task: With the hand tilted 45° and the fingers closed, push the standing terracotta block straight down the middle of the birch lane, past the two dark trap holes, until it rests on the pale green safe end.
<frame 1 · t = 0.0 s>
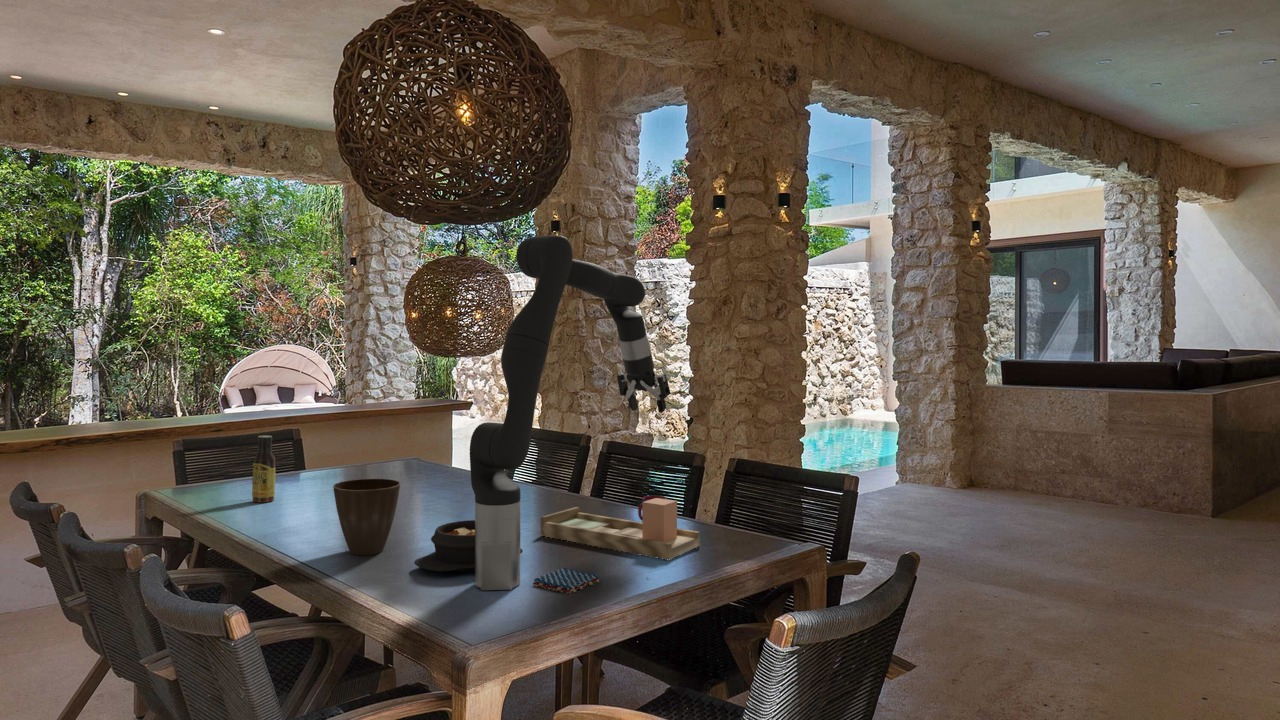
hand: (648, 410, 216), 31 cm above the table, tool tilted 20°, fingers open, 8 cm apart
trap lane: (620, 541, 204), on the table
casserole: (470, 565, 184), on the table
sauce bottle: (264, 502, 248), on the table
plant pot: (367, 552, 194), on the table
terracotta block: (659, 538, 197), point 2 cm above the table, touching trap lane
mug: (650, 524, 223), on the table
woven mat: (565, 587, 170), on the table
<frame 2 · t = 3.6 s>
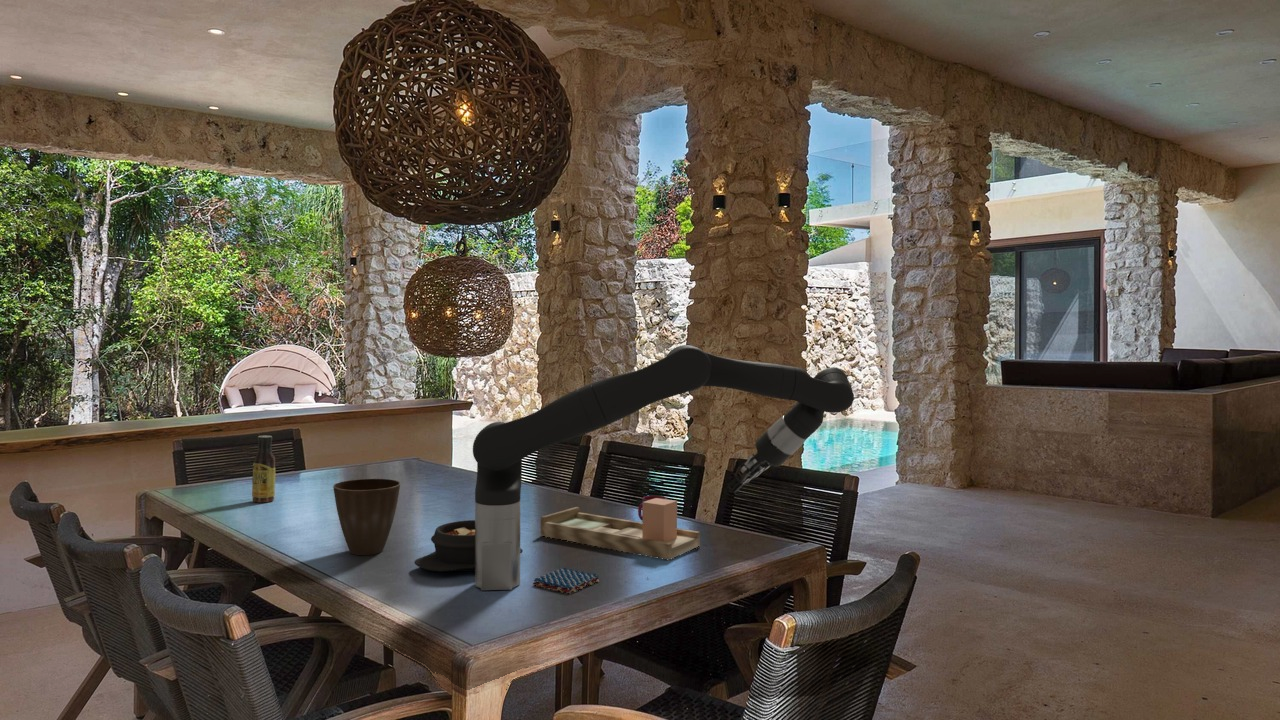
hand: (730, 489, 186), 16 cm above the table, tool tilted 45°, fingers closed
nothing on the table moved.
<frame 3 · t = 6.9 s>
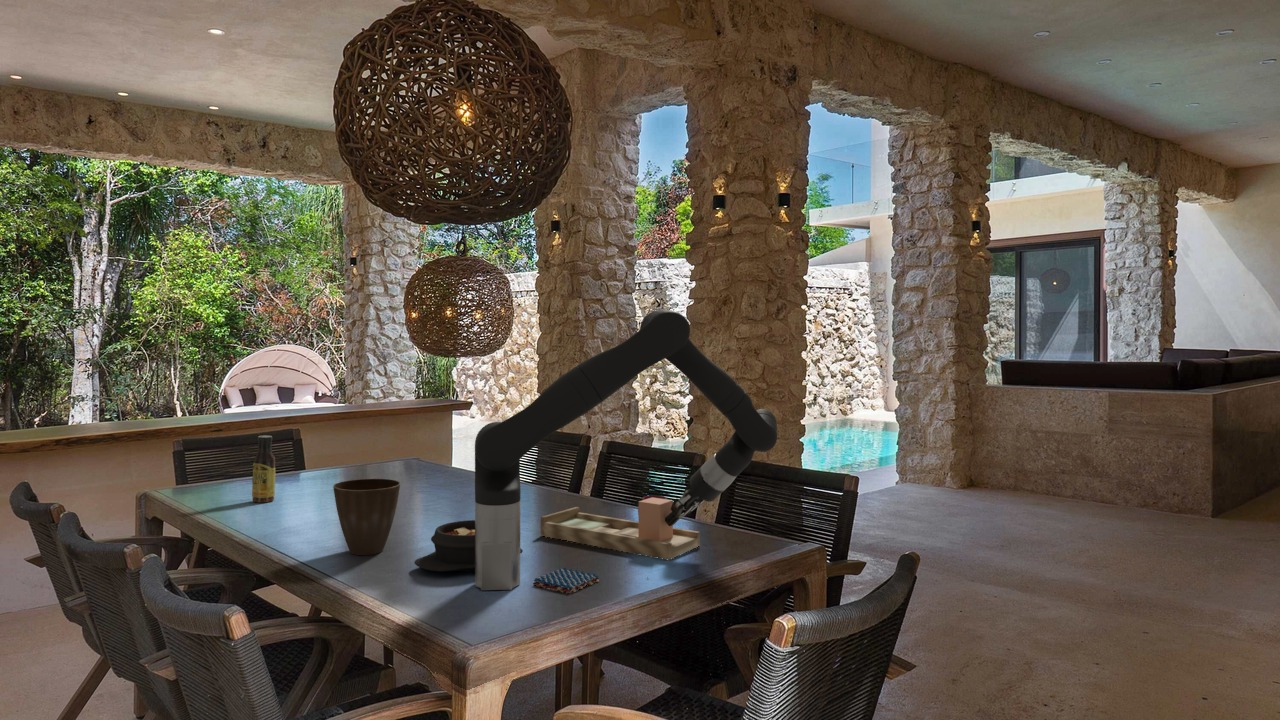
hand: (668, 522, 196), 7 cm above the table, tool tilted 45°, fingers closed
terracotta block: (655, 537, 198), point 3 cm above the table, touching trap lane
everything else where it was.
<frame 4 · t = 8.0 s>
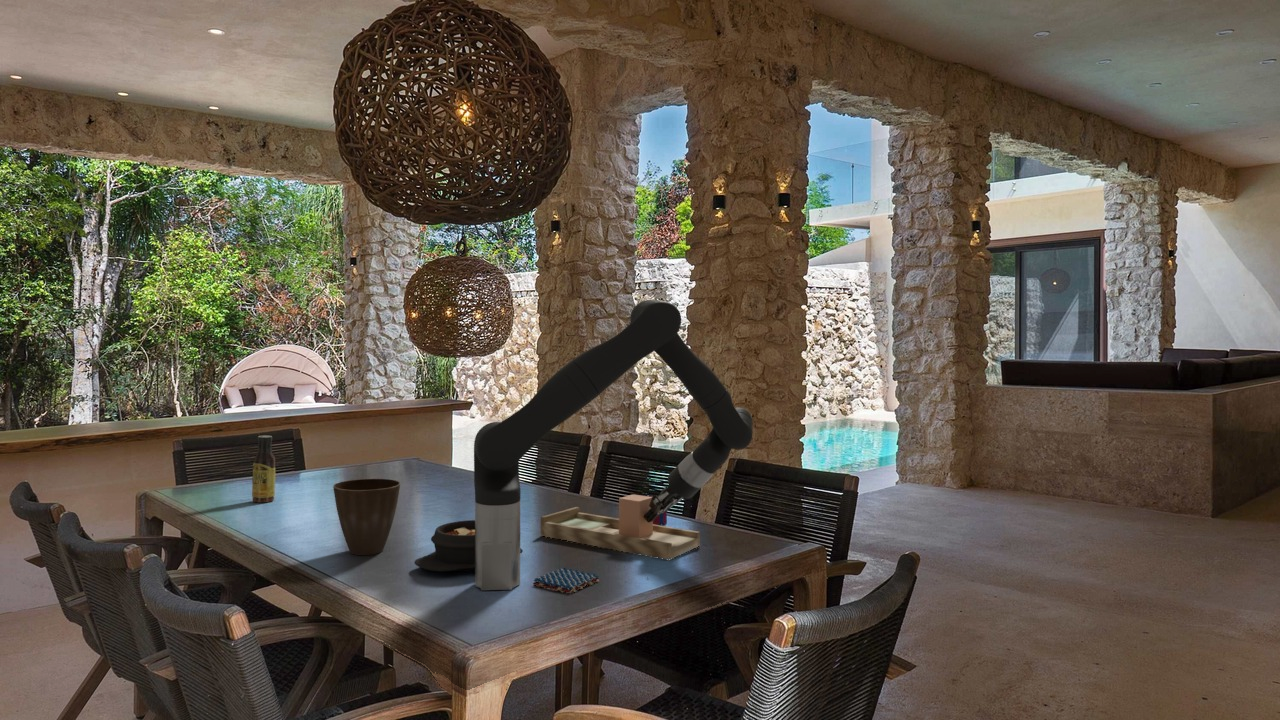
hand: (647, 519, 199), 7 cm above the table, tool tilted 45°, fingers closed
terracotta block: (635, 534, 201), point 3 cm above the table, touching gripper
everything else where it was.
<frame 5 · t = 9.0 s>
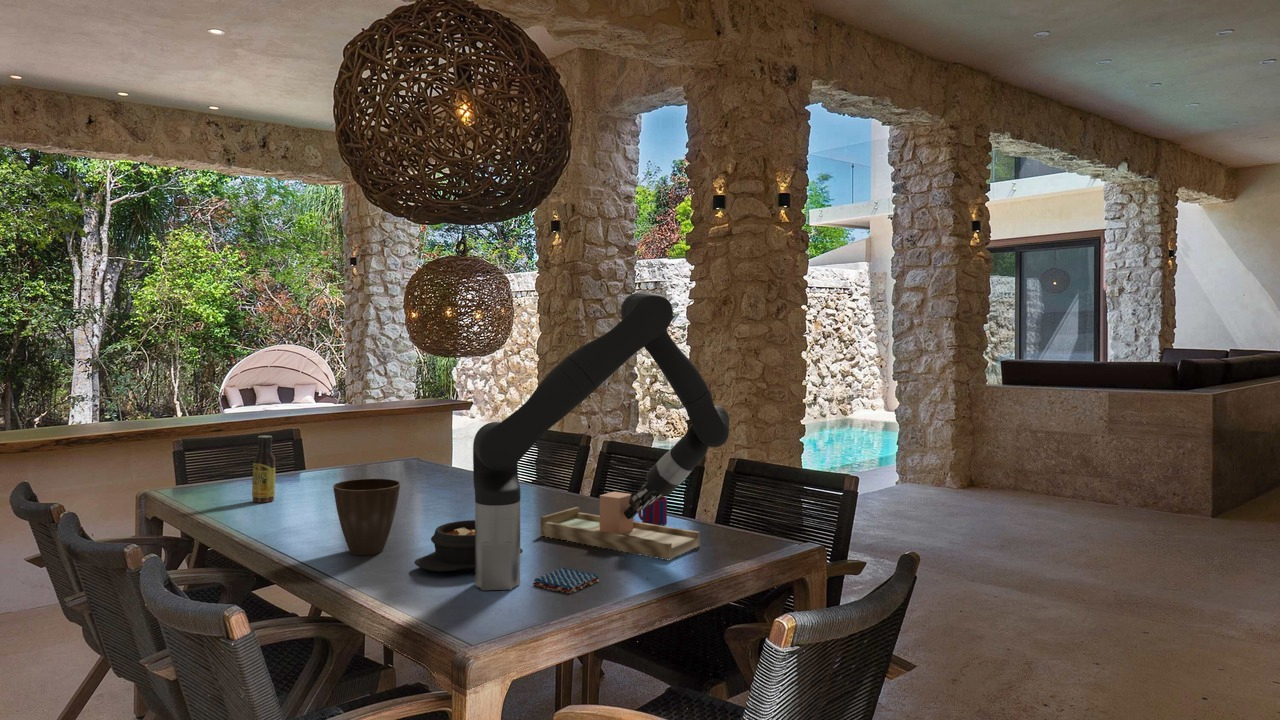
hand: (627, 515, 202), 7 cm above the table, tool tilted 45°, fingers closed
terracotta block: (616, 530, 205), point 3 cm above the table, touching gripper
everything else where it was.
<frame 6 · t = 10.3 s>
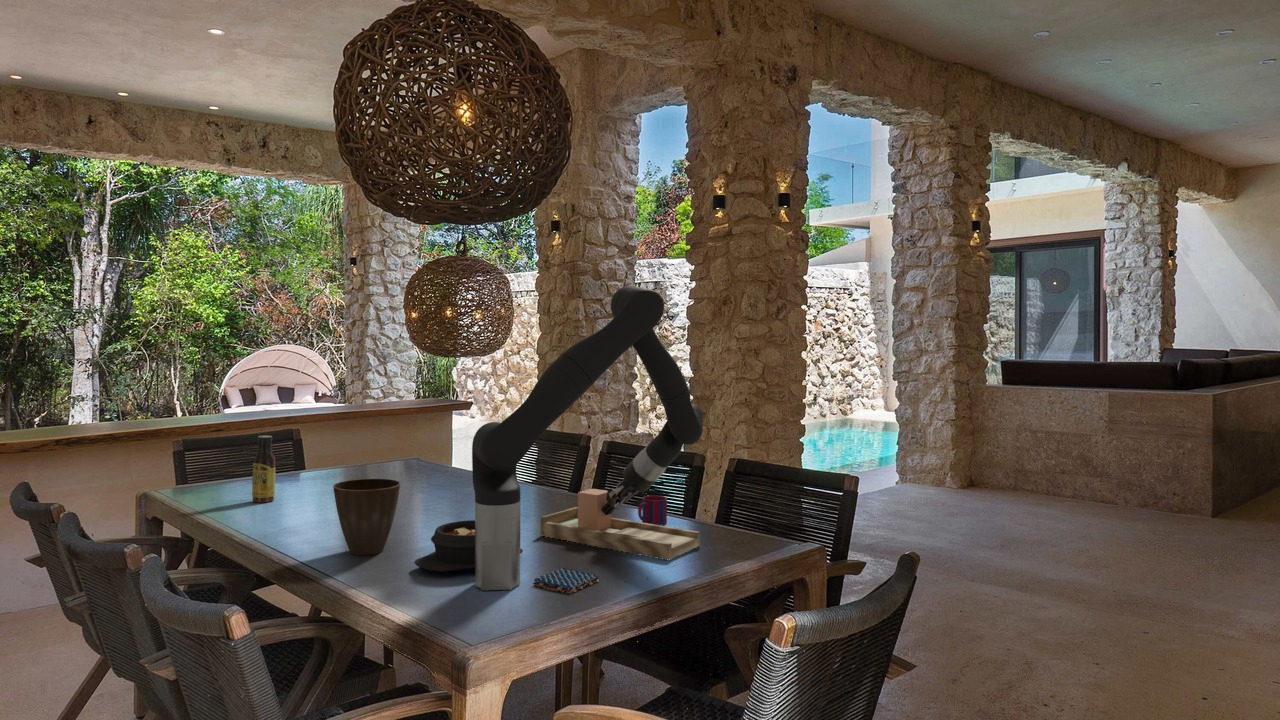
hand: (605, 512, 206), 7 cm above the table, tool tilted 45°, fingers closed
terracotta block: (594, 526, 209), point 2 cm above the table, touching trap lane
everything else where it was.
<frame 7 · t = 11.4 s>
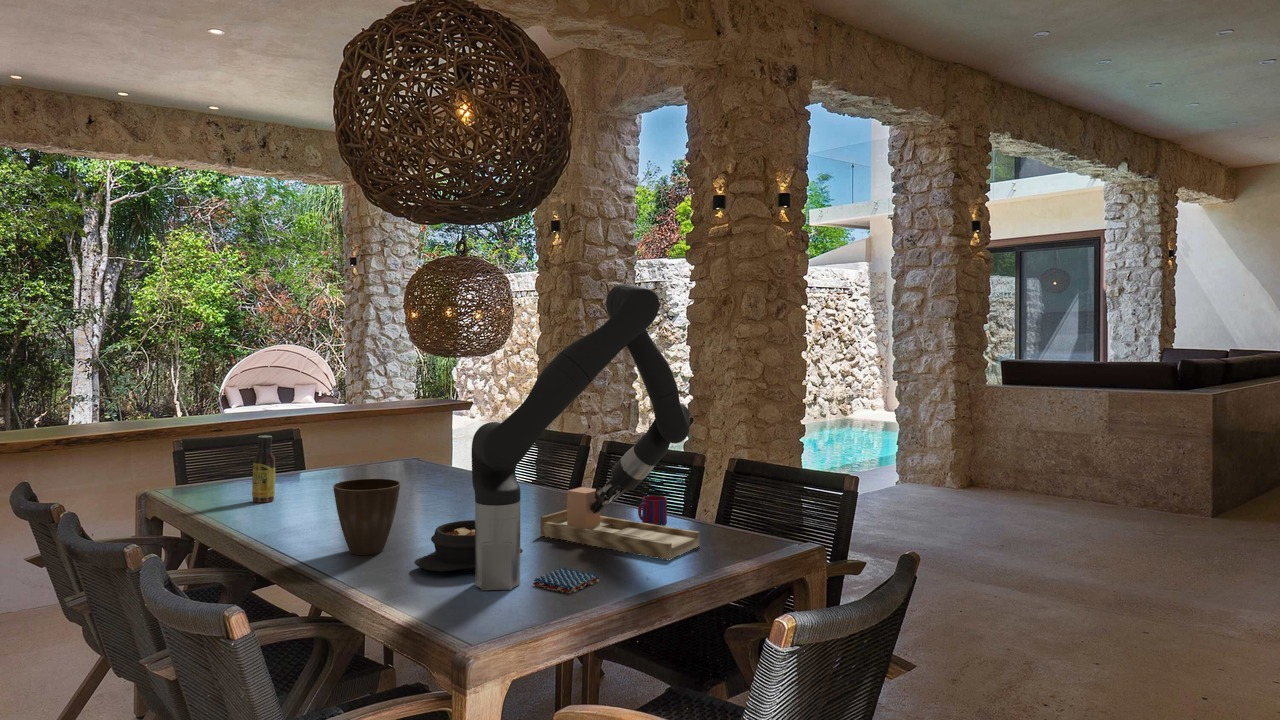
hand: (593, 510, 208), 7 cm above the table, tool tilted 45°, fingers closed
terracotta block: (583, 524, 211), point 3 cm above the table, touching gripper, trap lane
everything else where it was.
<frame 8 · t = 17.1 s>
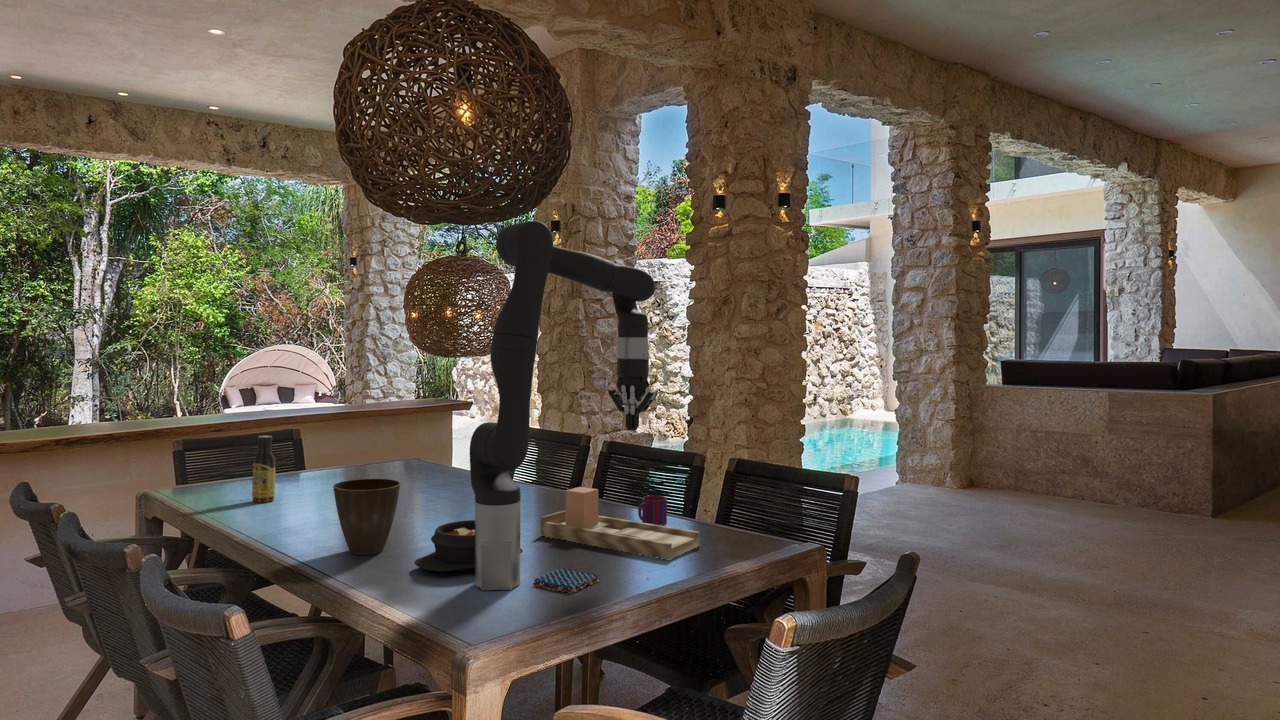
hand: (632, 430, 194), 29 cm above the table, tool pointing down, fingers closed
terracotta block: (581, 524, 211), point 2 cm above the table, touching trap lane
everything else where it was.
at the end: terracotta block inside the target area (0.6 cm from its centre), point 2.5 cm above the table; terracotta block tilted 0°; terracotta block moved 24.0 cm from its start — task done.
